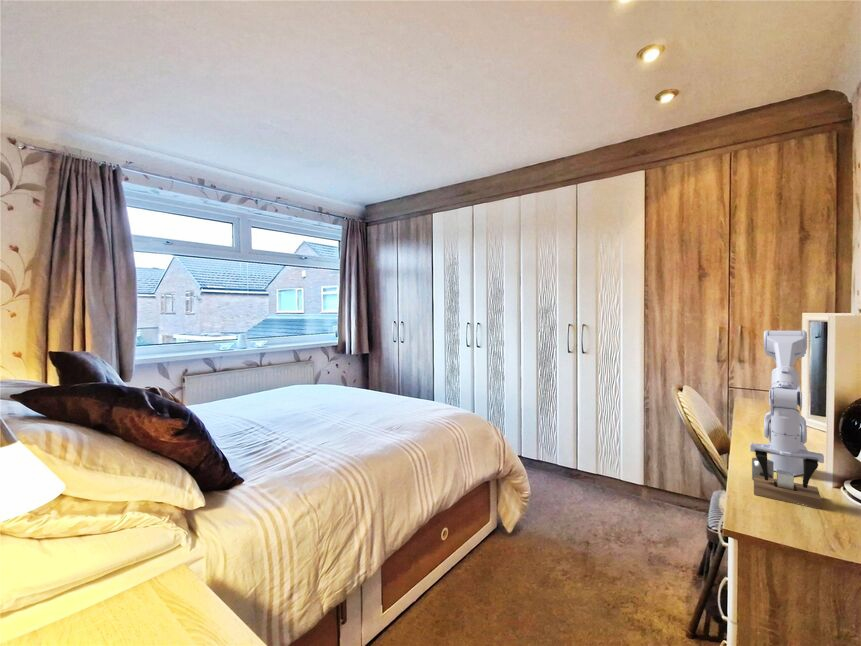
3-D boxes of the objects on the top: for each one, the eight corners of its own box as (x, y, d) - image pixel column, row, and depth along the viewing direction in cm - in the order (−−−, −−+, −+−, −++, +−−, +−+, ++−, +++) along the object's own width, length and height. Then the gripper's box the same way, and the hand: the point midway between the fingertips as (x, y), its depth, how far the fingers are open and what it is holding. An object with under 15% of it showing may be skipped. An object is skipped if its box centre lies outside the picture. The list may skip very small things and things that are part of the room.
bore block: (753, 483, 112) (753, 474, 112) (816, 496, 104) (816, 487, 104) (753, 494, 105) (753, 485, 105) (821, 509, 97) (821, 499, 97)
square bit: (776, 491, 107) (776, 469, 107) (792, 494, 105) (792, 472, 105) (777, 495, 104) (777, 473, 104) (793, 498, 102) (793, 476, 102)
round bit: (752, 476, 117) (752, 456, 117) (773, 480, 114) (773, 460, 114) (752, 481, 114) (752, 461, 113) (773, 485, 110) (773, 464, 110)
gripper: (750, 431, 106) (750, 480, 106) (825, 441, 97) (825, 495, 97) (750, 425, 111) (750, 472, 111) (821, 434, 102) (821, 486, 102)
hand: (785, 482), depth 104 cm, fingers open, 7 cm apart
